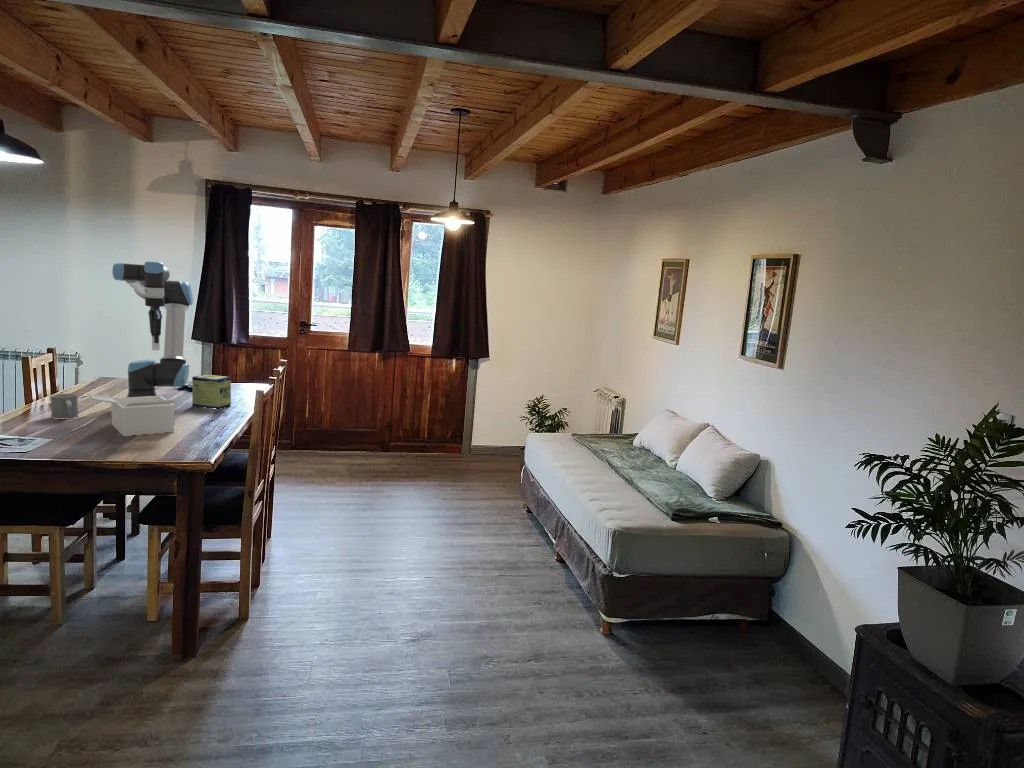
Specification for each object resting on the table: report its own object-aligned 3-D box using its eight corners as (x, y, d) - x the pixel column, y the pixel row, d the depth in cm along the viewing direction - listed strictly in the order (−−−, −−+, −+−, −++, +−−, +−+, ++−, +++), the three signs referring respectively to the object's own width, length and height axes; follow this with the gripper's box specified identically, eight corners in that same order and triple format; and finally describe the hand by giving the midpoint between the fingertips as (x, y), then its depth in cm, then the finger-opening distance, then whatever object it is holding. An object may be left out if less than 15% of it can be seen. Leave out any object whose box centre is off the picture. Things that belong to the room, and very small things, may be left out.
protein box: (219, 409, 343) (219, 379, 341) (191, 406, 346) (191, 376, 344) (231, 406, 354) (231, 376, 351) (204, 403, 357) (204, 374, 354)
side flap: (110, 398, 294) (87, 394, 288) (111, 397, 294) (87, 393, 288) (117, 403, 284) (92, 399, 278) (117, 402, 284) (93, 398, 278)
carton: (111, 424, 299) (111, 398, 297) (161, 421, 312) (160, 395, 310) (123, 436, 281) (122, 407, 279) (175, 432, 294) (175, 404, 292)
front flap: (125, 405, 279) (130, 402, 272) (170, 402, 290) (176, 399, 283) (126, 406, 279) (130, 403, 272) (171, 403, 290) (176, 400, 283)
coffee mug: (51, 415, 308) (50, 394, 307) (77, 414, 314) (76, 393, 313) (52, 421, 298) (51, 399, 296) (79, 420, 303) (78, 398, 302)
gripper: (141, 295, 303) (143, 348, 308) (149, 298, 294) (150, 352, 298) (160, 296, 308) (161, 347, 313) (167, 298, 299) (168, 351, 303)
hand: (155, 350), depth 305 cm, fingers closed
